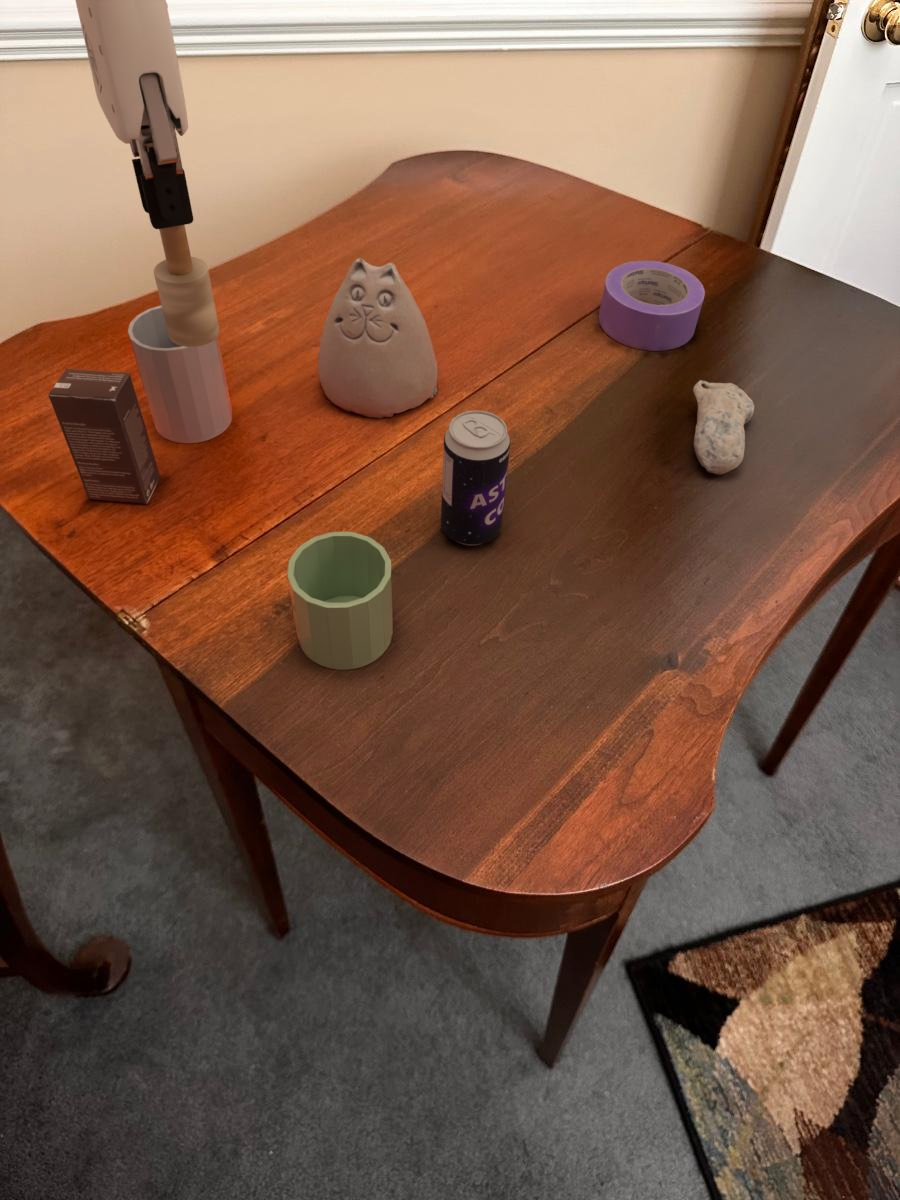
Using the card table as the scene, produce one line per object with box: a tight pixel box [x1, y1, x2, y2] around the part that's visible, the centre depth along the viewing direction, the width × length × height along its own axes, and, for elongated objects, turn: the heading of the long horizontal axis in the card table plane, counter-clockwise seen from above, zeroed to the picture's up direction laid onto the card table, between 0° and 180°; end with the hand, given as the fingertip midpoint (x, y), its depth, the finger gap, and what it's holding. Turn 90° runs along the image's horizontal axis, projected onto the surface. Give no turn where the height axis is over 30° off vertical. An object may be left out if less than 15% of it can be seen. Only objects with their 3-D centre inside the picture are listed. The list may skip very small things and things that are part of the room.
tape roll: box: [598, 260, 706, 352], centre depth 104 cm, size 12×12×5 cm
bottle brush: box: [146, 143, 221, 347], centre depth 71 cm, size 4×4×16 cm
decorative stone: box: [692, 380, 755, 475], centre depth 90 cm, size 13×7×5 cm, turn 171°
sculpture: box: [317, 257, 439, 419], centre depth 90 cm, size 13×12×15 cm
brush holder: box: [286, 531, 394, 671], centre depth 71 cm, size 8×8×8 cm
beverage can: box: [440, 410, 511, 546], centre depth 77 cm, size 6×6×12 cm
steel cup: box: [127, 304, 233, 444], centre depth 87 cm, size 8×8×11 cm
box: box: [47, 368, 161, 505], centre depth 80 cm, size 6×4×12 cm
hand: (168, 215), depth 69 cm, fingers closed on bottle brush, 2 cm apart
